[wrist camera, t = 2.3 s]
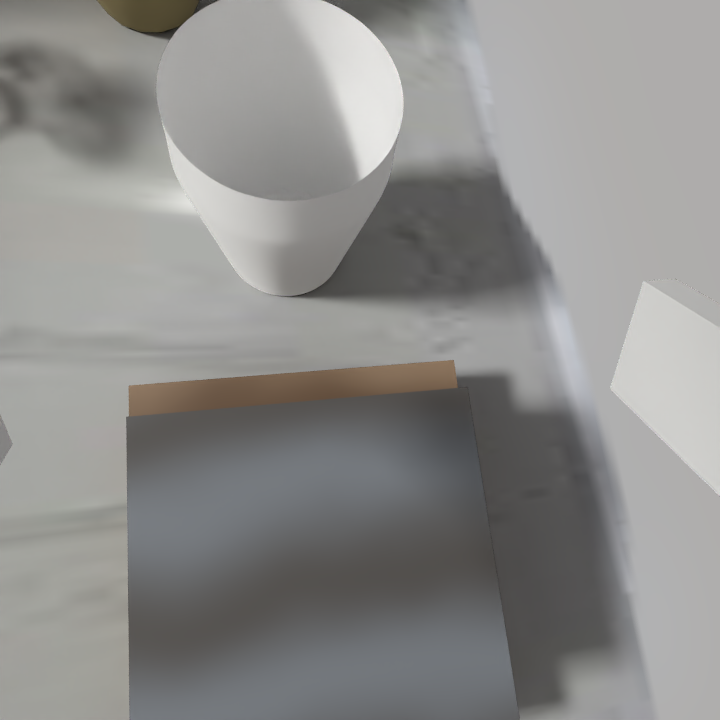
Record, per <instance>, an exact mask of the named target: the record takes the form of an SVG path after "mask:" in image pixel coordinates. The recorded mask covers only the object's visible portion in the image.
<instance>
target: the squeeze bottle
mask: <svg viewBox="0 0 720 720" xmlns="http://www.w3.org/2000/svg"><path fill="white" fill-rule="evenodd" d="M97 1H98V2H99V3H100V5H101V6H102V7H103V8H104V9H105V11H106V12H107V13H108V14H109V15H110V16H111V17H113V18H114V19H115V20H116V21H118V22H119V23H120V24H121V25H123V26H126V27H129V28H131V29H134V30H137V31H140V32H164V31H167V30H170V29H173V28H176V27H179V26H180V25H182V24H183V23H184V22H185V21H187V20H188V19H189V18H190V17H192V15H193V13H194V11H195V9H196V7H197V5H198V3H199V0H97Z"/></svg>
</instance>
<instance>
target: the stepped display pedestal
mask: <svg viewBox="0 0 720 720" xmlns="http://www.w3.org/2000/svg"><path fill="white" fill-rule="evenodd" d="M126 428H127V521H128V614H129V706H130V720H520V718H519V712H518V706H517V699H516V693H515V686H514V680H513V674H512V667H511V661H510V655H509V648H508V642H507V635H506V629H505V623H504V616H503V610H502V604H501V597H500V591H499V584H498V578H497V572H496V565H495V559H494V553H493V546H492V540H491V533H490V527H489V521H488V514H487V508H486V502H485V495H484V489H483V482H482V476H481V470H480V463H479V457H478V451H477V444H476V438H475V431H474V425H473V419H472V412H471V406H470V400H469V393H468V387H462V388H458V385H457V379H456V372H455V366H454V360H449V361H437V362H424V363H411V364H399V365H386V366H373V367H360V368H348V369H335V370H322V371H310V372H297V373H284V374H271V375H259V376H246V377H233V378H221V379H208V380H195V381H182V382H170V383H157V384H144V385H132V386H129V417H126Z"/></svg>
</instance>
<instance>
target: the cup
mask: <svg viewBox="0 0 720 720" xmlns="http://www.w3.org/2000/svg"><path fill="white" fill-rule="evenodd" d="M156 97H157V104H158V109H159V113H160V117H161V121H162V124H163V128H164V132H165V136H166V140H167V144H168V150H169V155H170V159H171V164H172V166H173V169H174V172H175V175H176V177H177V179H178V181H179V183H180V185H181V187H182V189H183V191H184V192H185V194H186V196H187V197H188V199H189V200H190V202H191V204H192V205H193V207H194V208H195V210H196V211H197V213H198V215H199V216H200V218H201V219H202V221H203V222H204V224H205V225H206V227H207V228H208V230H209V231H210V233H211V234H212V236H213V238H214V239H215V241H216V242H217V244H218V245H219V247H220V248H221V250H222V251H223V253H224V254H225V256H226V257H227V259H228V260H229V262H230V264H231V265H232V267H233V268H234V270H235V271H236V272H237V274H238V275H239V276H240V277H241V278H242V279H243V280H244V281H245V282H247V283H248V284H249V285H251V286H252V287H254V288H256V289H258V290H260V291H262V292H265V293H268V294H272V295H278V296H294V295H300V294H304V293H307V292H310V291H312V290H314V289H316V288H318V287H319V286H321V285H322V284H323V283H325V282H326V281H327V280H328V279H329V278H330V277H331V276H332V274H333V273H334V272H335V270H336V268H337V267H338V265H339V264H340V262H341V261H342V259H343V257H344V256H345V254H346V253H347V251H348V249H349V248H350V246H351V245H352V243H353V241H354V240H355V238H356V237H357V235H358V233H359V232H360V230H361V229H362V227H363V225H364V224H365V222H366V221H367V219H368V217H369V216H370V214H371V213H372V211H373V209H374V208H375V206H376V205H377V203H378V201H379V200H380V198H381V196H382V194H383V192H384V190H385V188H386V185H387V183H388V180H389V177H390V174H391V170H392V165H393V159H394V153H395V148H396V144H397V139H398V135H399V131H400V126H401V122H402V116H403V91H402V86H401V81H400V78H399V75H398V72H397V69H396V67H395V65H394V62H393V60H392V58H391V57H390V55H389V53H388V52H387V50H386V49H385V47H384V46H383V44H382V43H381V42H380V41H379V39H378V38H377V37H376V36H375V35H374V34H373V33H372V32H371V31H370V30H369V29H368V28H367V27H366V26H365V25H364V24H362V23H361V22H360V21H359V20H357V19H356V18H355V17H353V16H352V15H350V14H349V13H347V12H345V11H344V10H342V9H340V8H338V7H336V6H334V5H332V4H330V3H328V2H325V1H322V0H219V1H217V2H215V3H213V4H210V5H208V6H207V7H205V8H203V9H202V10H200V11H198V12H197V13H196V14H194V15H193V16H192V17H190V18H189V19H188V20H187V21H186V22H185V23H184V24H182V26H181V27H180V28H179V29H178V30H177V31H176V32H175V34H174V35H173V37H172V38H171V39H170V41H169V42H168V44H167V46H166V48H165V50H164V52H163V55H162V57H161V60H160V63H159V67H158V71H157V78H156Z"/></svg>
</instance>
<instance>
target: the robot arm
mask: <svg viewBox="0 0 720 720" xmlns="http://www.w3.org/2000/svg"><path fill="white" fill-rule="evenodd" d="M610 389H611V390H612V391H613V392H614V393H615V394H616V395H617V396H618V397H619V398H620V399H621V400H622V401H623V402H624V403H625V404H626V405H627V406H628V407H629V408H630V409H631V410H632V411H633V412H634V413H635V414H636V415H637V416H638V417H639V418H640V419H641V420H642V421H643V422H644V423H645V424H646V425H647V426H648V427H649V428H650V429H651V430H652V431H653V432H654V433H655V434H657V435H658V436H659V437H660V438H661V439H662V440H663V441H664V442H665V443H666V444H667V445H668V446H669V447H670V448H671V449H672V450H673V451H674V452H675V453H676V454H677V455H678V456H679V457H680V458H681V459H682V460H683V461H684V462H685V463H686V464H687V465H688V466H689V467H690V468H691V469H692V470H693V471H694V472H695V473H696V474H697V475H698V476H700V477H701V479H702V480H703V481H704V482H705V483H707V485H709V486H710V487H711V488H712V489H713V490H714V491H715V492H716V493H717V494H718V495H719V496H720V304H719V303H718V302H716V301H714V300H712V299H711V298H709V297H707V296H705V295H704V294H702V293H700V292H698V291H696V290H695V289H693V288H691V287H689V286H688V285H686V284H684V283H682V282H680V281H679V280H677V279H667V280H649V281H643V284H642V288H641V291H640V294H639V297H638V301H637V304H636V307H635V310H634V313H633V316H632V320H631V323H630V326H629V329H628V332H627V336H626V339H625V342H624V346H623V348H622V352H621V355H620V358H619V361H618V365H617V368H616V371H615V374H614V377H613V381H612V384H611V387H610ZM11 446H12V441H11V439H10V437H9V434H8V432H7V430H6V427H5V425H4V423H3V420H2V418H1V416H0V464H1V463H2V461H3V459H4V458H5V456H6V454H7V453H8V451H9V449H10V448H11Z"/></svg>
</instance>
